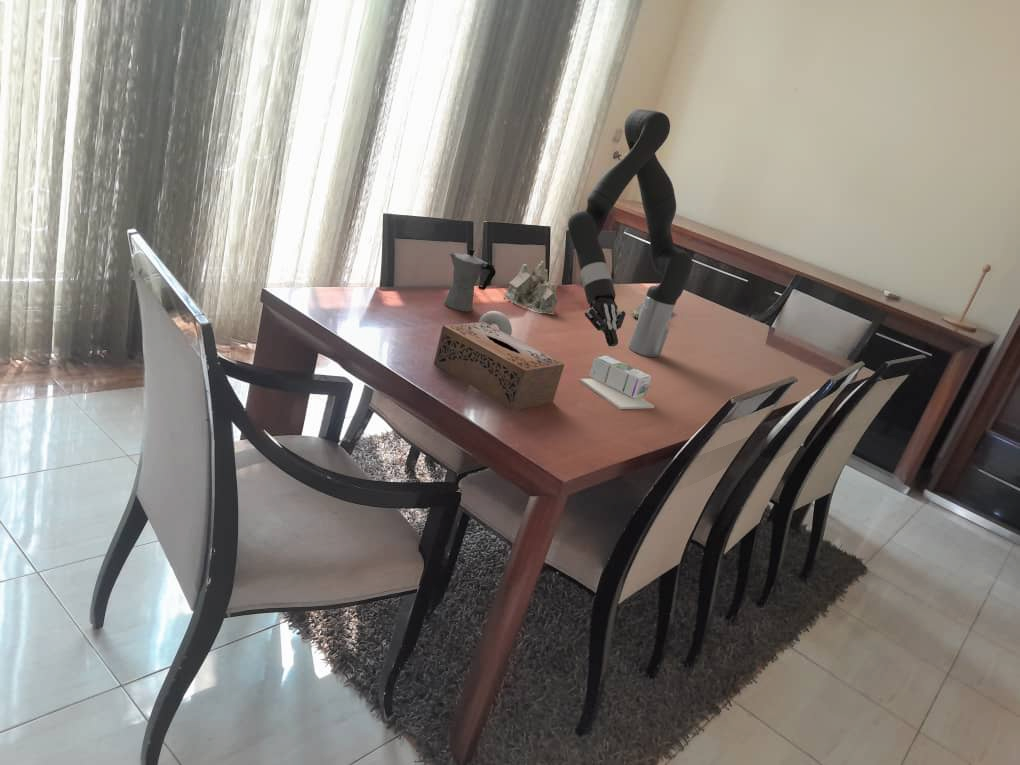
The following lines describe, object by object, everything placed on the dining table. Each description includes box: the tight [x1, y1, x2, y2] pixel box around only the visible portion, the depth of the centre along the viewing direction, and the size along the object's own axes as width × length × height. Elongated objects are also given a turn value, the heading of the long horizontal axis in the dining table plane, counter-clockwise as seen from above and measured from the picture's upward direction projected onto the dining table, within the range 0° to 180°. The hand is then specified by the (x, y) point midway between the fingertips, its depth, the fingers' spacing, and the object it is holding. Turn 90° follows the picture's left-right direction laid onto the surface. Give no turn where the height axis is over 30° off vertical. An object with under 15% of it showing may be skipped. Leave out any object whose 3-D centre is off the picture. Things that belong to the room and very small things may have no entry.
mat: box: [579, 378, 655, 410], centre depth 189 cm, size 16×12×1 cm
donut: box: [478, 310, 513, 336], centre depth 195 cm, size 10×4×10 cm, turn 60°
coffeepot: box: [443, 248, 497, 312], centre depth 222 cm, size 15×9×18 cm, turn 70°
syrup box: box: [589, 354, 652, 399], centre depth 191 cm, size 6×6×14 cm
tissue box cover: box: [433, 321, 565, 412], centre depth 172 cm, size 26×14×10 cm, turn 50°
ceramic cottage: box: [503, 260, 559, 314], centre depth 246 cm, size 16×16×15 cm
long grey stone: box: [631, 304, 643, 319], centre depth 283 cm, size 35×5×10 cm
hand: (613, 345), depth 189 cm, fingers closed
